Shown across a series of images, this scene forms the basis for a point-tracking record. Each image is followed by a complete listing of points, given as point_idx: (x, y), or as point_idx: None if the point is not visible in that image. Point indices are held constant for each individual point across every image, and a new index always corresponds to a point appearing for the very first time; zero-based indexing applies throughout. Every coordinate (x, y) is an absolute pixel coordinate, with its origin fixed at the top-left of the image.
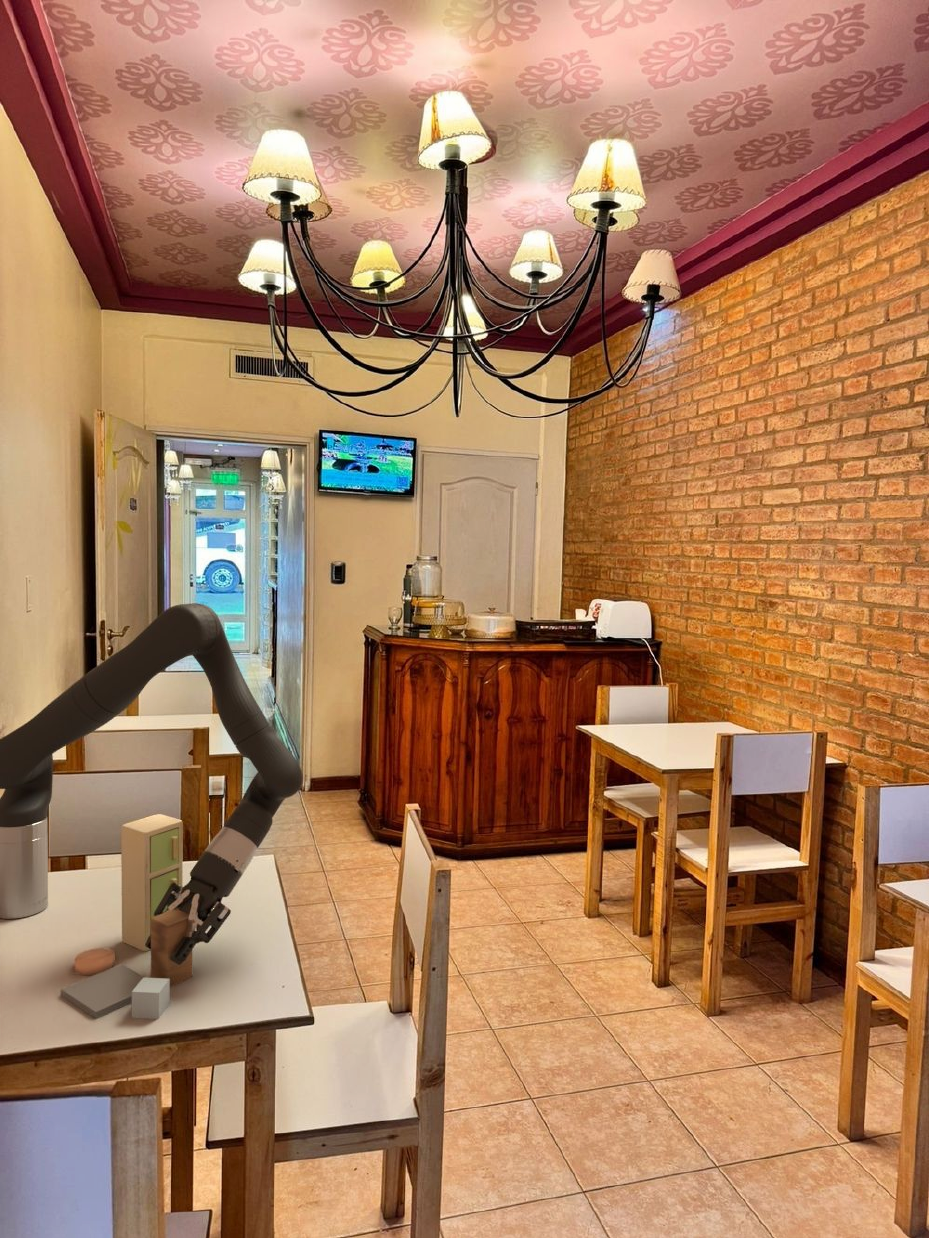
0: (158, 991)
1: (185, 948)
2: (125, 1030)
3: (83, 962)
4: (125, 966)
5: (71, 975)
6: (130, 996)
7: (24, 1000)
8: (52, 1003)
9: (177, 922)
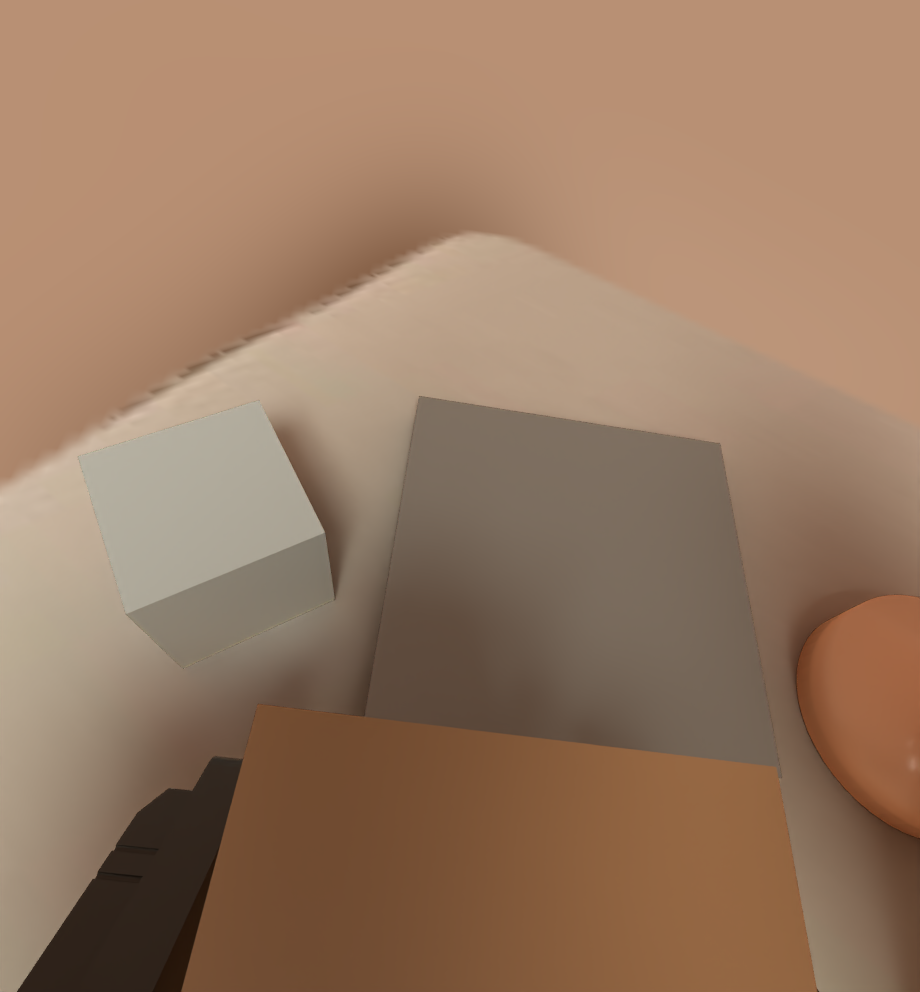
0: (92, 465)
1: (87, 901)
2: None
3: (909, 627)
4: None
5: (861, 588)
6: (393, 548)
7: (761, 386)
8: (666, 414)
9: (188, 975)
